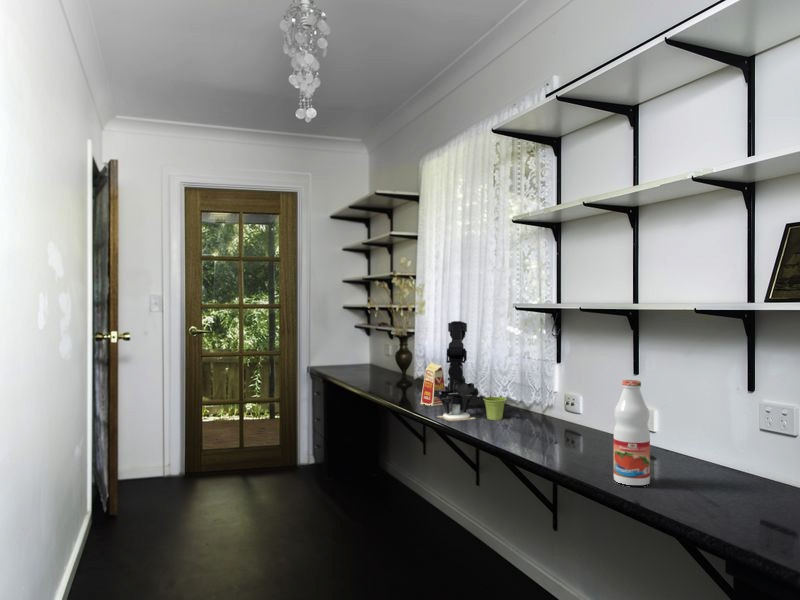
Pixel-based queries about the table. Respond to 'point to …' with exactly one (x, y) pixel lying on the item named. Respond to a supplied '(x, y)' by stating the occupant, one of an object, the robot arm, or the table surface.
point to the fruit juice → (631, 437)
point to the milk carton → (432, 384)
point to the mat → (455, 420)
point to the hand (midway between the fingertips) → (456, 413)
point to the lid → (456, 414)
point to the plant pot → (494, 407)
